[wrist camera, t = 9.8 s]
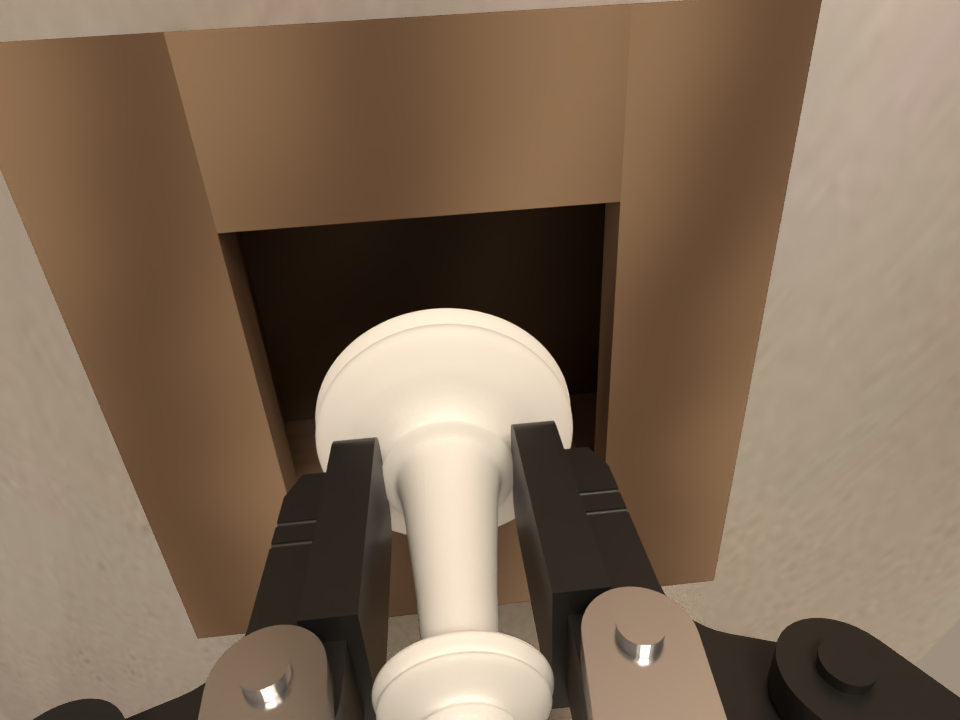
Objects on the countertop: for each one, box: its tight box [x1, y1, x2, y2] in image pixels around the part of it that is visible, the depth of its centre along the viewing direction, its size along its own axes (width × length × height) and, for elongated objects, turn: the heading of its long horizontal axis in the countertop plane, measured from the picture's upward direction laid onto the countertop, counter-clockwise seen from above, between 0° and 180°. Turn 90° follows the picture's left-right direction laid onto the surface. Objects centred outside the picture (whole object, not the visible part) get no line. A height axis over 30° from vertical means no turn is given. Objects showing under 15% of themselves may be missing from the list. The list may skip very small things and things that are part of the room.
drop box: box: [0, 0, 822, 639], centre depth 17 cm, size 14×14×9 cm
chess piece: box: [315, 308, 573, 720], centre depth 8 cm, size 5×5×10 cm
